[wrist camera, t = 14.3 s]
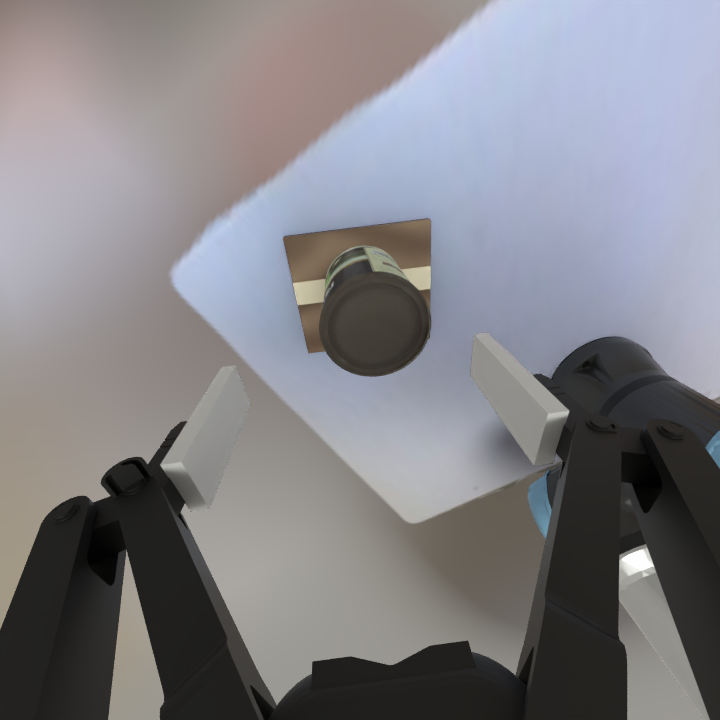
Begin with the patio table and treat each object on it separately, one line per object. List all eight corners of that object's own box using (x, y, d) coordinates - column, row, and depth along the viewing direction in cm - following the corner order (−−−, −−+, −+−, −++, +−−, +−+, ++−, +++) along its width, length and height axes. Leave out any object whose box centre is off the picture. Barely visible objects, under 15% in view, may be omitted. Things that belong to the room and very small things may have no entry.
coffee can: (325, 322, 42) (320, 377, 30) (323, 244, 37) (316, 271, 24) (399, 323, 43) (423, 377, 30) (407, 246, 37) (440, 274, 25)
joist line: (430, 288, 40) (430, 288, 40) (297, 304, 40) (297, 305, 40) (430, 265, 39) (430, 266, 39) (292, 282, 39) (292, 283, 39)
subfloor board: (427, 333, 46) (429, 338, 44) (309, 348, 46) (308, 353, 44) (427, 218, 38) (430, 219, 36) (284, 236, 38) (283, 237, 36)
